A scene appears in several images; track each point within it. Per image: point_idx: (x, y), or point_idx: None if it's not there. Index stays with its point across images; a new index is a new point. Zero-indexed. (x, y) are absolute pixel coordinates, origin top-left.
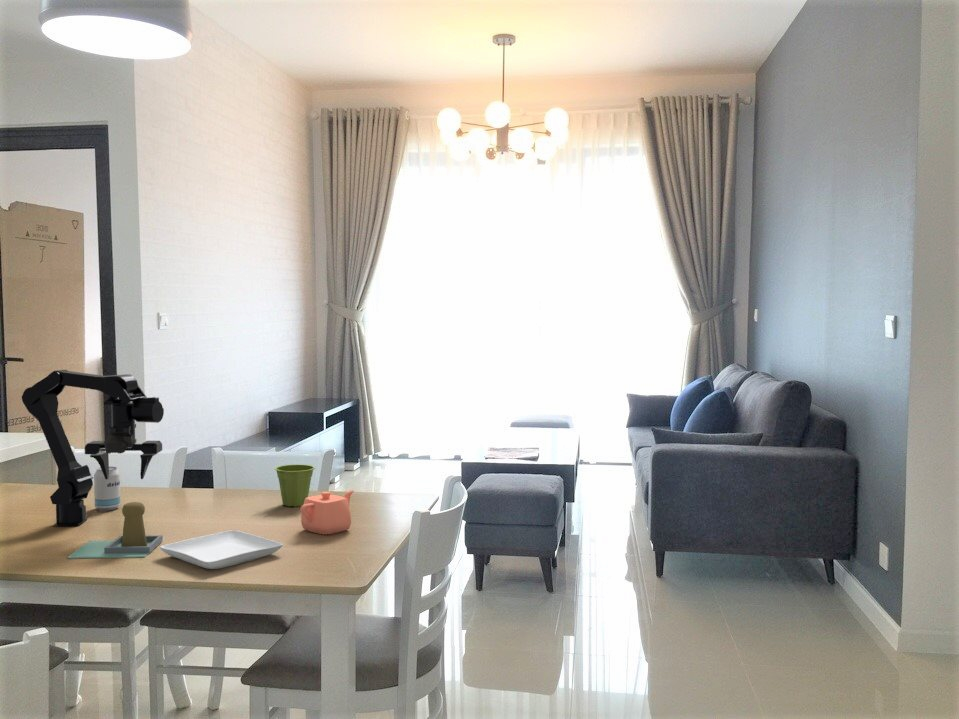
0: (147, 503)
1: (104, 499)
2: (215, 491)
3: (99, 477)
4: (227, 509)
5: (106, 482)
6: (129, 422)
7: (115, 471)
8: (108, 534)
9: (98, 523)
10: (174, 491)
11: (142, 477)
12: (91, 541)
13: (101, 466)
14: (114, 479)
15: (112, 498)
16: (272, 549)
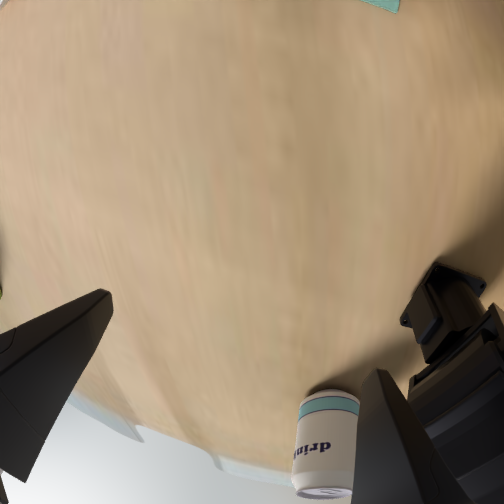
0: (240, 407)
1: (339, 411)
2: (133, 414)
3: (350, 468)
4: (56, 296)
5: (331, 453)
6: None
7: (301, 483)
8: (338, 98)
9: (371, 278)
10: (203, 440)
11: (91, 292)
12: (387, 1)
13: (434, 460)
14: (307, 461)
15: (318, 412)
16: None
